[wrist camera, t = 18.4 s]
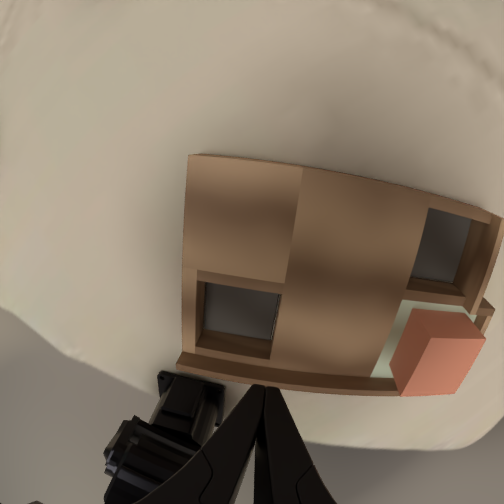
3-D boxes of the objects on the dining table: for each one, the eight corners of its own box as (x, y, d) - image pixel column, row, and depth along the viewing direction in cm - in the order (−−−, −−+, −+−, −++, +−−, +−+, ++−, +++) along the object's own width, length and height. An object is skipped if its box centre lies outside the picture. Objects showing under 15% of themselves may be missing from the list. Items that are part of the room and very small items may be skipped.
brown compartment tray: (437, 365, 22) (452, 393, 18) (191, 339, 23) (176, 369, 20) (496, 213, 17) (525, 227, 13) (200, 153, 18) (179, 155, 15)
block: (439, 364, 19) (454, 393, 16) (388, 364, 19) (400, 396, 16) (464, 312, 17) (486, 339, 14) (412, 308, 18) (430, 337, 14)
